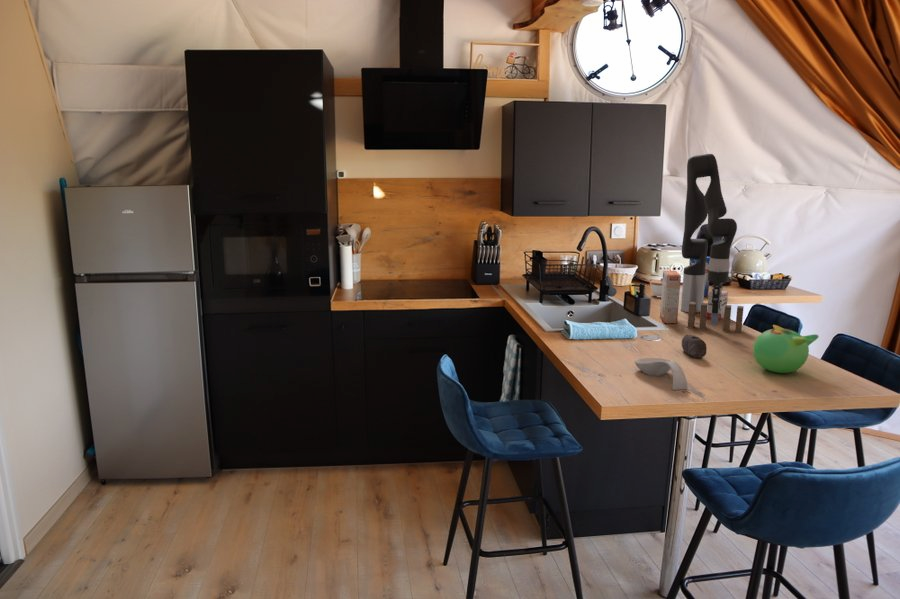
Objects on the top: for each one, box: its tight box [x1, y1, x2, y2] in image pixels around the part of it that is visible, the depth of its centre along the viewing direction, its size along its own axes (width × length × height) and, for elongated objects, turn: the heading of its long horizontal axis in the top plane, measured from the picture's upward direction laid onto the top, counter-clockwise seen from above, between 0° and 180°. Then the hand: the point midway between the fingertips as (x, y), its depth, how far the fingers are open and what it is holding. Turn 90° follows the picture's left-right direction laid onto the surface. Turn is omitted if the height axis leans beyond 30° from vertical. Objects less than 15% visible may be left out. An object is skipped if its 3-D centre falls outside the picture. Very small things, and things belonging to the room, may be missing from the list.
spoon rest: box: [634, 357, 689, 391], centre depth 204 cm, size 24×12×7 cm, turn 9°
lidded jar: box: [650, 277, 663, 297], centre depth 335 cm, size 11×11×9 cm
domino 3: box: [710, 298, 720, 326], centre depth 260 cm, size 5×2×10 cm, turn 155°
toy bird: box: [752, 324, 819, 374], centre depth 210 cm, size 18×17×15 cm
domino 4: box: [722, 304, 732, 333], centre depth 264 cm, size 5×2×10 cm, turn 155°
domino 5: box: [734, 305, 745, 334], centre depth 262 cm, size 5×2×10 cm, turn 154°
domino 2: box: [698, 302, 708, 330], centre depth 268 cm, size 5×2×10 cm, turn 154°
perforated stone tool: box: [681, 334, 708, 359], centre depth 230 cm, size 15×5×7 cm, turn 0°
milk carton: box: [688, 256, 710, 297], centre depth 337 cm, size 10×6×20 cm, turn 73°
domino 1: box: [687, 302, 696, 329], centre depth 270 cm, size 5×2×10 cm, turn 155°
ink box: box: [707, 290, 729, 321], centre depth 286 cm, size 9×5×12 cm, turn 131°
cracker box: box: [659, 270, 682, 325], centre depth 280 cm, size 14×6×21 cm, turn 168°
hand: (715, 311), depth 260 cm, fingers closed on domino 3, 5 cm apart
